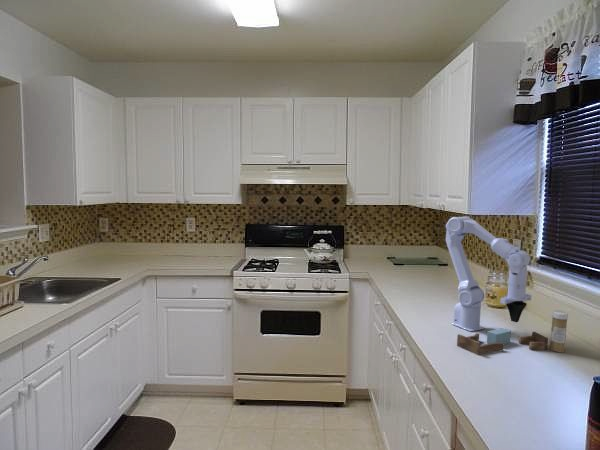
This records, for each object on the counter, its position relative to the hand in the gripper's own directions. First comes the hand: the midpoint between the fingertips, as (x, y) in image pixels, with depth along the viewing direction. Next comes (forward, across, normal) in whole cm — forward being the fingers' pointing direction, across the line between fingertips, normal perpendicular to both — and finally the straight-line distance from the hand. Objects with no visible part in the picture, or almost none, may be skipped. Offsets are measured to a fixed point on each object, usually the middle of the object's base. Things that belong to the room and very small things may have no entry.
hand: (514, 321), depth 151 cm
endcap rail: (+7, -19, 0) cm, 20 cm away
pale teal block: (+7, -8, 0) cm, 11 cm away
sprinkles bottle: (+7, +5, -13) cm, 16 cm away
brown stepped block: (+7, 0, -7) cm, 10 cm away
